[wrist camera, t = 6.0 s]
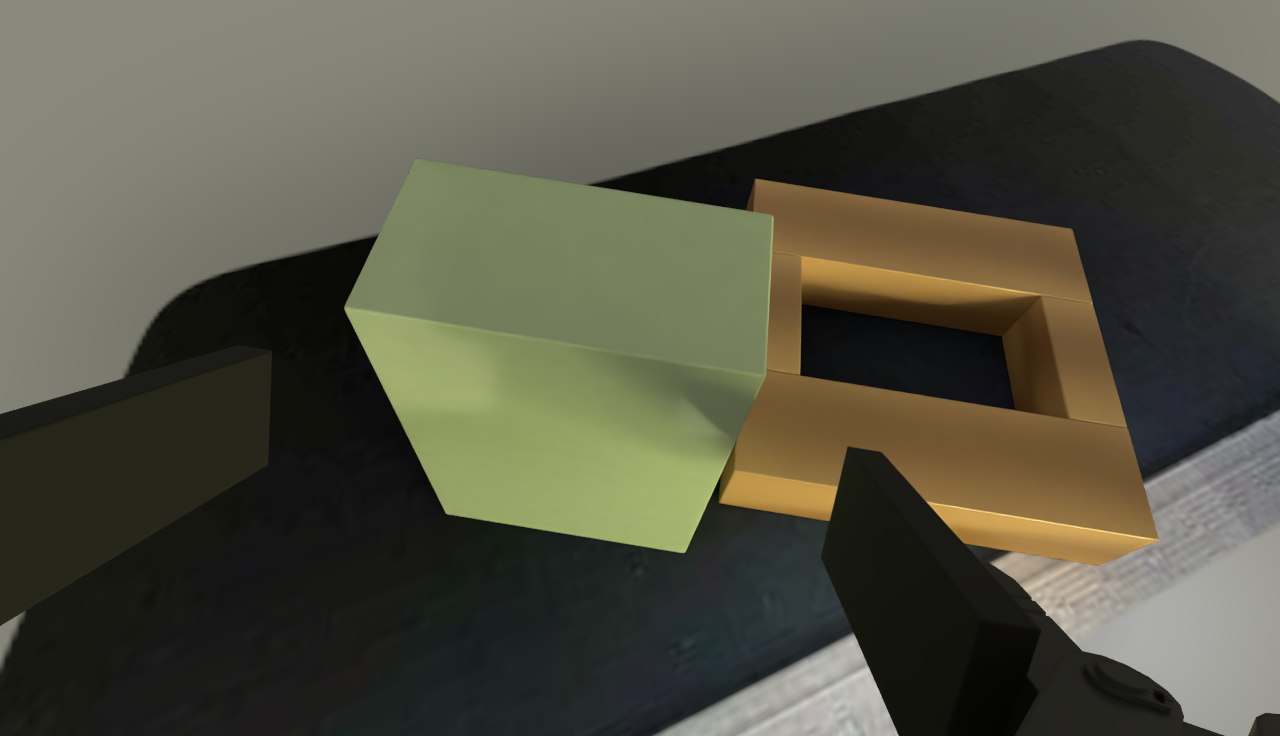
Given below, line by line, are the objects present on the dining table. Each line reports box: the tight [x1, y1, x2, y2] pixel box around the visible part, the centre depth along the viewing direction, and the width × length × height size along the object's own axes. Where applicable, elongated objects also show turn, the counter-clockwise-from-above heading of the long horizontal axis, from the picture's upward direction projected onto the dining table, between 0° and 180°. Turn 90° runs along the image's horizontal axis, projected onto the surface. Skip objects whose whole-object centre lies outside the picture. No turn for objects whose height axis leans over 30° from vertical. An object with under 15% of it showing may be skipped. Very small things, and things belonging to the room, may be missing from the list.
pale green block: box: [344, 158, 774, 553], centre depth 19 cm, size 4×8×12 cm, turn 82°
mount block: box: [718, 179, 1159, 565], centre depth 27 cm, size 14×14×3 cm
